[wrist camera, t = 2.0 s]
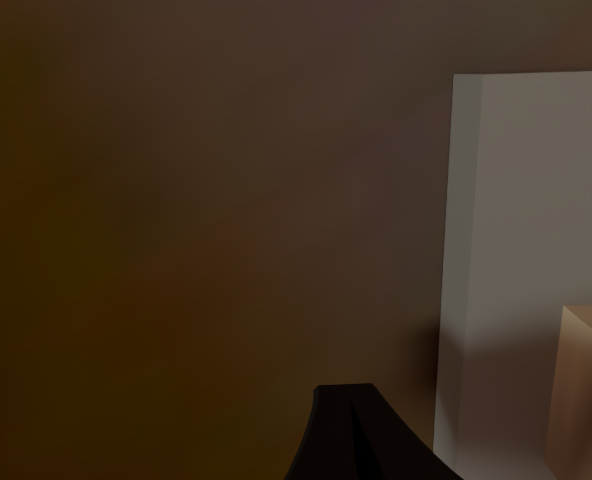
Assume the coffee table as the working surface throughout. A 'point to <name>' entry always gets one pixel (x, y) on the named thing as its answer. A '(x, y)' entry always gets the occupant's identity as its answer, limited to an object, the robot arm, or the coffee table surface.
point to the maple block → (572, 399)
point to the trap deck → (511, 264)
